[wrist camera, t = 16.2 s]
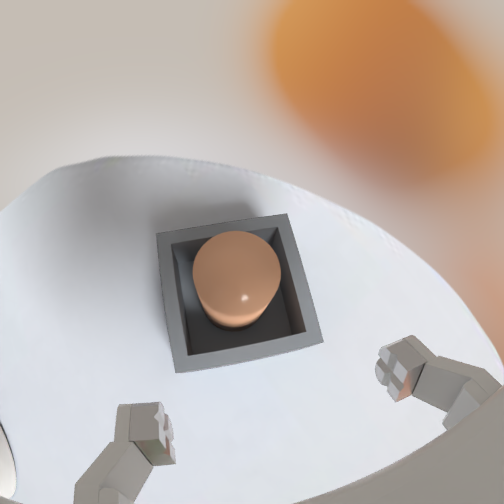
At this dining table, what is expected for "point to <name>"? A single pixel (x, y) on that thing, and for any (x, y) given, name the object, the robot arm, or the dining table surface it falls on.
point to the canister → (235, 279)
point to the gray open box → (266, 327)
